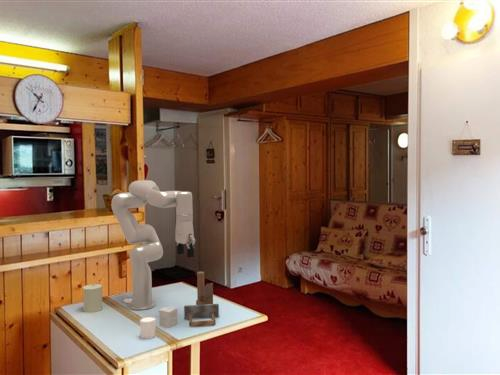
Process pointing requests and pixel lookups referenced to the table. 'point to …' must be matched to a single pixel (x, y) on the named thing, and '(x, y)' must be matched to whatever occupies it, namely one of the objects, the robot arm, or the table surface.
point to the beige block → (168, 317)
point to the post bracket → (201, 314)
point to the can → (92, 298)
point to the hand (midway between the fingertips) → (185, 255)
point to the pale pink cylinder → (148, 327)
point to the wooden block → (203, 290)
